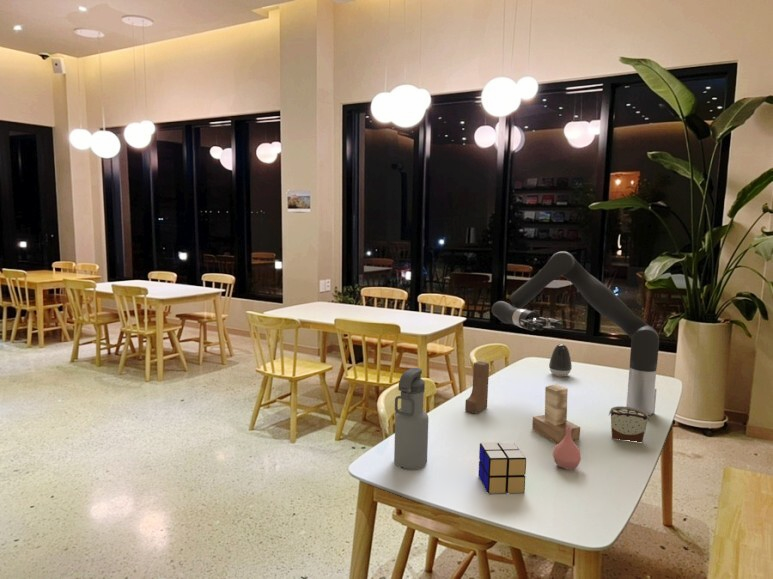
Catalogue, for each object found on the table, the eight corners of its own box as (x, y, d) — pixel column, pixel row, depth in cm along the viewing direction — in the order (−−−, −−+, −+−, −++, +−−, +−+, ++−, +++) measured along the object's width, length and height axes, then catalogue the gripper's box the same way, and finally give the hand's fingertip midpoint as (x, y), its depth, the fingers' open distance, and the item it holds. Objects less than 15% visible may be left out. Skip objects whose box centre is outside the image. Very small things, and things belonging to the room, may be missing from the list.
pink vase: (558, 459, 156) (560, 421, 154) (583, 466, 151) (586, 428, 149) (548, 468, 150) (550, 428, 148) (574, 476, 145) (577, 436, 143)
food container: (644, 437, 173) (647, 408, 172) (647, 444, 168) (650, 415, 166) (605, 431, 177) (607, 403, 176) (606, 438, 172) (609, 409, 170)
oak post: (555, 417, 176) (556, 384, 175) (566, 422, 172) (567, 388, 170) (544, 420, 174) (545, 386, 173) (555, 425, 170) (556, 391, 168)
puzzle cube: (477, 476, 144) (479, 442, 143) (512, 475, 145) (514, 441, 144) (487, 494, 134) (489, 458, 133) (524, 493, 135) (527, 457, 134)
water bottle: (416, 474, 144) (419, 378, 141) (387, 465, 149) (389, 372, 146) (432, 460, 153) (435, 369, 149) (404, 452, 158) (406, 364, 154)
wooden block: (474, 414, 191) (476, 367, 189) (464, 411, 194) (466, 365, 192) (487, 408, 198) (489, 363, 196) (477, 405, 201) (479, 360, 199)
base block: (552, 427, 182) (553, 413, 181) (579, 441, 170) (580, 427, 169) (532, 430, 178) (532, 416, 178) (557, 445, 166) (558, 430, 166)
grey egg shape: (550, 377, 240) (552, 346, 239) (547, 371, 251) (549, 341, 249) (572, 379, 239) (575, 347, 237) (568, 372, 249) (570, 342, 247)
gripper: (511, 310, 199) (536, 317, 183) (542, 309, 203) (569, 316, 188) (510, 329, 200) (535, 338, 184) (540, 327, 204) (567, 336, 189)
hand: (552, 327), depth 186 cm, fingers open, 8 cm apart
